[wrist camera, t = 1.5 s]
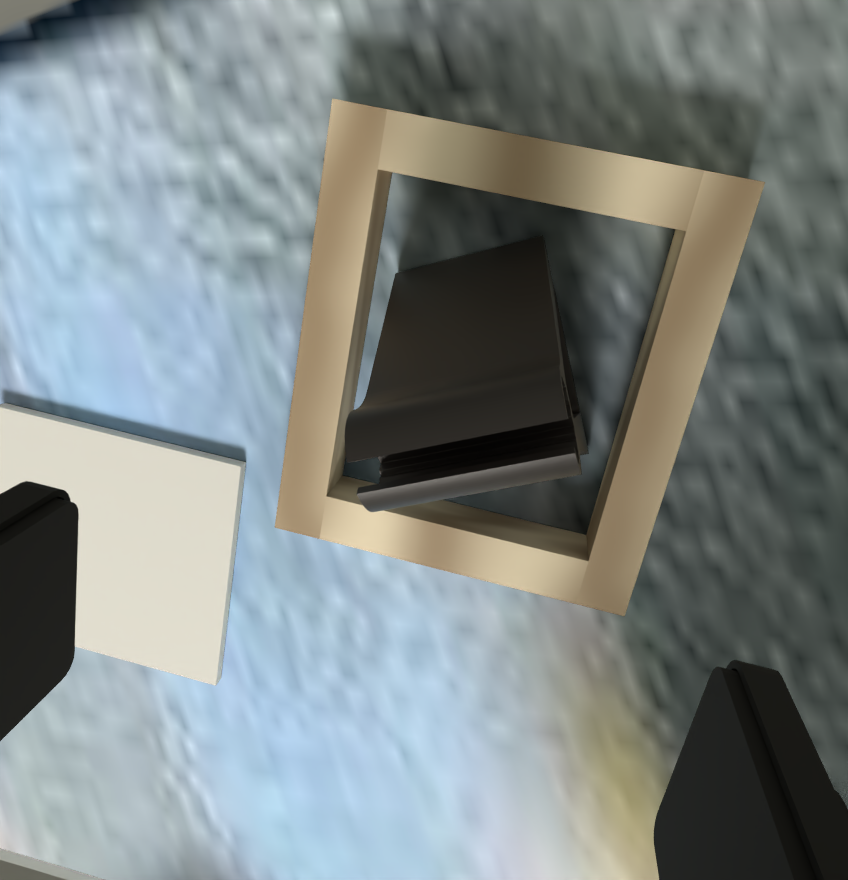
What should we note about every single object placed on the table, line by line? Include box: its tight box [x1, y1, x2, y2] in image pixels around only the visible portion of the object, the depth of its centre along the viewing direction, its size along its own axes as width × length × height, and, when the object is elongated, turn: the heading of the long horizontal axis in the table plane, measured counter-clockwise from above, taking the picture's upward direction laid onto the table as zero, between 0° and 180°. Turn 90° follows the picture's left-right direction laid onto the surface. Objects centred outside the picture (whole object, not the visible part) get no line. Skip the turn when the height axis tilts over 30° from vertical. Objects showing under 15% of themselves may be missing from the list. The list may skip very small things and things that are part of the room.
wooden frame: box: [275, 99, 765, 616], centre depth 30 cm, size 15×17×2 cm
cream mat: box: [0, 403, 246, 685], centre depth 36 cm, size 12×12×1 cm
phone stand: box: [345, 235, 589, 512], centre depth 25 cm, size 9×6×12 cm, turn 14°
